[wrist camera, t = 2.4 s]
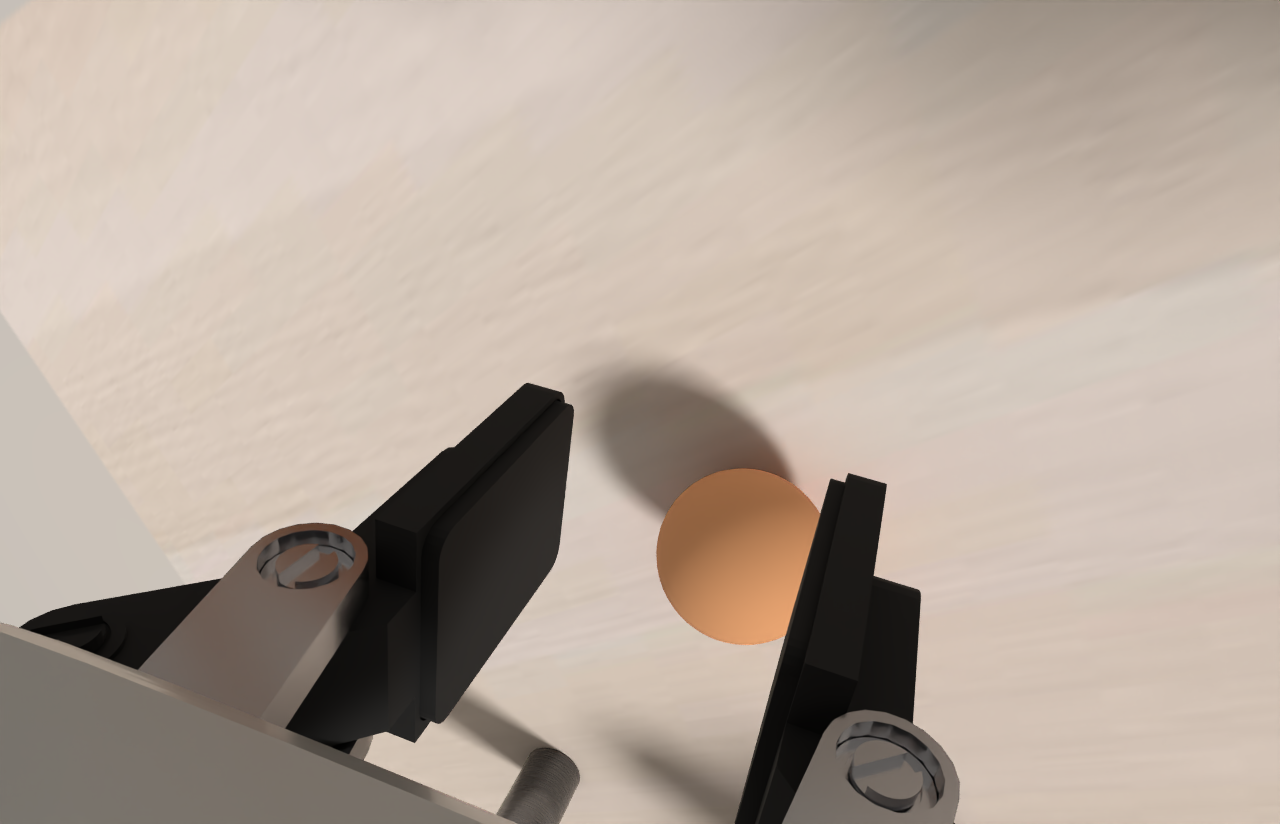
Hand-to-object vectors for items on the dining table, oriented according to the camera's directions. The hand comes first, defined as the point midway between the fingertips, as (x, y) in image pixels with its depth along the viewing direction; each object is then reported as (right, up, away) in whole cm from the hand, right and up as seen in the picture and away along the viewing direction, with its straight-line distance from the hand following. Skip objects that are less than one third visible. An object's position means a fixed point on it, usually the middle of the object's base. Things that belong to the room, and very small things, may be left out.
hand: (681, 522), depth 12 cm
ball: (+3, -3, +15) cm, 16 cm away
